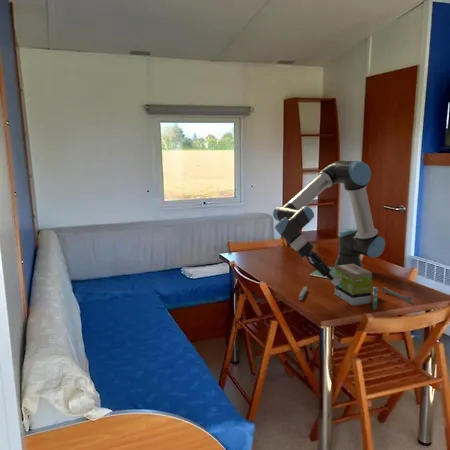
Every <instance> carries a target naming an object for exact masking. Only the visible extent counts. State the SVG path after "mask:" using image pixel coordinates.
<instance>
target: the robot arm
mask: <svg viewBox="0 0 450 450" xmlns="http://www.w3.org/2000/svg"><path fill="white" fill-rule="evenodd" d="M371 177H372V171H371V168H370V166H369V164H367V163H366V162H365V161H361V160H360V161H359V160H337V161H334V162H332V163H331V164H329V165H327V166H326V167H324V168H323V169H321V170H320V172H318V173H317V176H316V178H314V179H313V180H312V181H311V182H310V183H308V184H307V185H306V186H305V187H304V188H302V189H301V190H300V191H299V192H298V193H297V194H296V195H294V196H293V197H292V198H291V199H290V200H289V201H288V202H287V203H285V204H284V205H283V206H282V205H280V206H276V207H275V208H274V209H273V212H272V215H273V216H272V217H273V218H274V220H276V221H277V222H278V223H276V224H275V226H274V229H275V230H276V231H277V233H278V234H279V235H280V237H282V238H283V239H284V241H286V242H287V244H289V246H290V248H291V249H292V250H294V251H296V254H298V255H299V257H301V258H304V257H306V259H307V261H308V263H309V264H310V265H311V266H312V267H314V268H315V270H316V271H318V272H319V273H320V274H321V275H322V276H323V277H326V278H327V279H328V280H329V281H330V282H331V284H333V286H334V287H335V286H337V285H338V284H339V283H340V281H339V280H338V279H337V278H336V277H335V275H334V274H333V273H332V272H331V271H332V269H331V268H329V266H328V265H327V264H326V263H325V262H324V260H323V259H322V258H321V257H320V255H319V253H318V252H315V251H313V249H314V245H313V244H312V243H311V242H310V241H308V238H307V237H305V235H303V234H302V233H301V230H302V229H304V227H306V226H307V225H308V224H309V223H311V221H312V220H313V219H314V217H315V213H314V211H313V209H312V208H311V207H310V206H308V205H309V204H310V203H311V202H313V201H314V199H315V198H317V197H318V196H319V195H320V194H321V193H322V192H323V191H325V190H326V189H327V188H331V187H332V186H334V185H335V184H343V187H344V190H345V191H347V192H348V194H349V199H350V203H351V208H352V212H353V218H354V222H355V225H356V226H355V227H356V228H348V229H347V228H346V229H342V230H340V231H339V234H338V235H339V236H338V256H337V258H336V261H335V263H334V264H335V265H334V269H335V270H336V266H338V265H347V264H355V265H357V266H359V267H361V268H363V263H362V259H361V255H362V256H366V257H369V258H378V257H380V256H381V255H382V254H383V252H384V250H385V248H386V247H385V246H386V240H385V238H384V237H382V236H380V235H379V230H378V229H377V228H375V226H374V221H373V216H372V212H371V206H370V202H369V197H368V196H369V195H368V192H367V187H368V185H369V182H370V181H371Z"/></svg>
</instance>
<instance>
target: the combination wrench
mask: <svg viewBox="0 0 450 450" xmlns="http://www.w3.org/2000/svg"><path fill="white" fill-rule="evenodd" d="M384 289H385V290H384ZM381 292H382V293H384V294H390V295H391V296H395V297H397V298H399V299H402V300H404V301H406V303H408V304H409V305H411V306H413V305H414V304H415V302H412V299H415V298H414V297H413V296H411V295H409V296H406V295H402V294H400V293H398V292H395V291H393V290H390V289H389V288H388V287H386V286H385V287H384V286H383V287H382V288H381Z"/></svg>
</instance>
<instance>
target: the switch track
mask: <svg viewBox="0 0 450 450" xmlns="http://www.w3.org/2000/svg"><path fill="white" fill-rule="evenodd" d="M378 288H379V287H377V286H373V288H372V304H371V305H372V307H371V308H372V310H377V308H378ZM307 292H308V286H303V288H302V290H301V291H300V293H299V295H298V301H303V299H304V298H305V295H306V294H307Z"/></svg>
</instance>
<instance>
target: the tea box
mask: <svg viewBox="0 0 450 450" xmlns="http://www.w3.org/2000/svg"><path fill="white" fill-rule="evenodd" d="M334 276H335V277H336V278H337V279H338V280H339V281H340V283H339V284H338V285H337V286H334V295H335V296H337V297H339V298H340V299H342V300H343V301H345V302H346V303H348V304H349V305H351V306H359V305H366V304H367V305H368V304H370V303H371V302H372V286H373V285H372V283H373V282H372V281H373V272H372V271H370V270H368V269H366V268H363V267H362V268H361V267H359V266H357V265H355V264H347V265H338V266H336V269H335V275H334Z"/></svg>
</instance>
